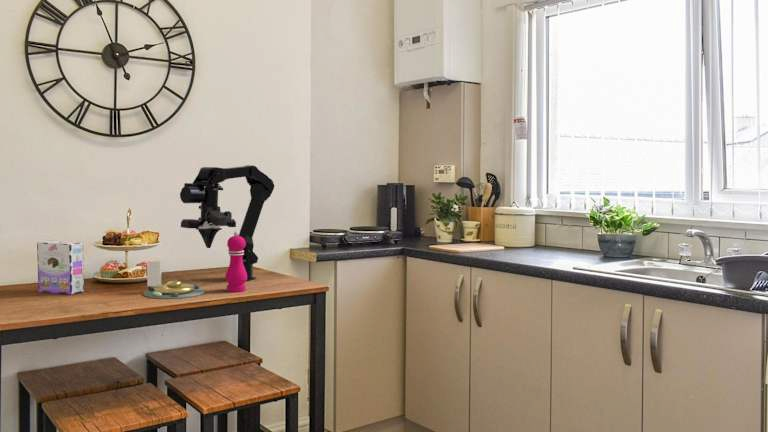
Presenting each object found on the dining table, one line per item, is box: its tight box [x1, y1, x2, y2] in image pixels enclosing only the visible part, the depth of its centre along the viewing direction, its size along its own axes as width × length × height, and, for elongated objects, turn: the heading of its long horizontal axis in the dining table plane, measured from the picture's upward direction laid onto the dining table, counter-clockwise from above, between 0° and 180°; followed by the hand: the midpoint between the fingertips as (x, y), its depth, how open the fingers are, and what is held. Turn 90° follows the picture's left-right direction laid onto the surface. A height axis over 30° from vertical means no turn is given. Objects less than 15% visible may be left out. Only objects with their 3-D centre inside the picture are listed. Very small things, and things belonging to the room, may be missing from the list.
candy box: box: [36, 240, 85, 295], centre depth 216 cm, size 14×6×16 cm, turn 71°
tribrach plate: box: [143, 284, 205, 300], centre depth 218 cm, size 19×19×2 cm
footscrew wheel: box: [146, 260, 195, 294], centre depth 218 cm, size 15×13×9 cm
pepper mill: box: [224, 230, 247, 293], centre depth 224 cm, size 7×7×20 cm
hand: (208, 248), depth 233 cm, fingers closed
